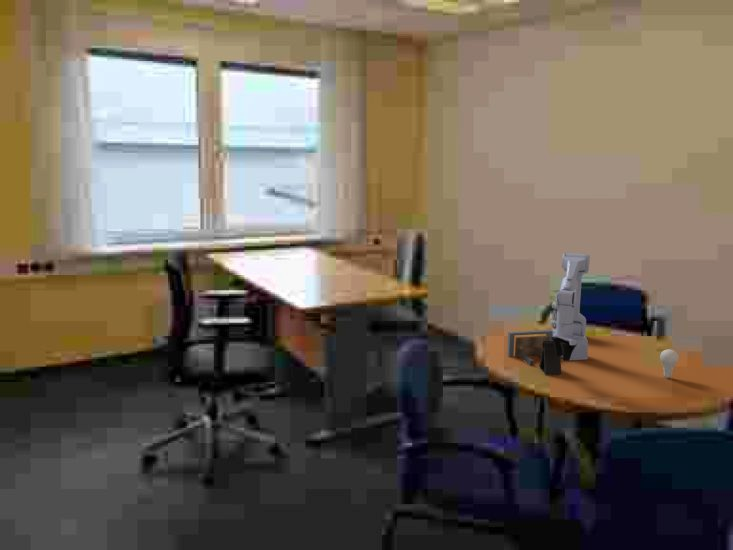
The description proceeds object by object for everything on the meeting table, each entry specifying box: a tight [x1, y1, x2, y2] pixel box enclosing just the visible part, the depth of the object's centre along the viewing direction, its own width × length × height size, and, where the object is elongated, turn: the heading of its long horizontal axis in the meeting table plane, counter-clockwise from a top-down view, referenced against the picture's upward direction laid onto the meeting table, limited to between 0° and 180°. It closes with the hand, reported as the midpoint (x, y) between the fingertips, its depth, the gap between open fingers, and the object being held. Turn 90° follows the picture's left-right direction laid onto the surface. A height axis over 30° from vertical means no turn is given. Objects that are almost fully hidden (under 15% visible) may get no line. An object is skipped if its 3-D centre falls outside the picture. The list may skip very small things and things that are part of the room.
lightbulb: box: [659, 348, 679, 379], centre depth 231 cm, size 6×6×11 cm
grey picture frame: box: [506, 329, 554, 357], centre depth 258 cm, size 19×2×10 cm, turn 99°
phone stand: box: [538, 341, 562, 376], centre depth 239 cm, size 9×6×12 cm, turn 0°
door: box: [514, 335, 549, 358], centre depth 255 cm, size 14×3×8 cm, turn 99°
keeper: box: [520, 352, 542, 366], centre depth 251 cm, size 10×9×2 cm
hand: (562, 358), depth 229 cm, fingers open, 5 cm apart
